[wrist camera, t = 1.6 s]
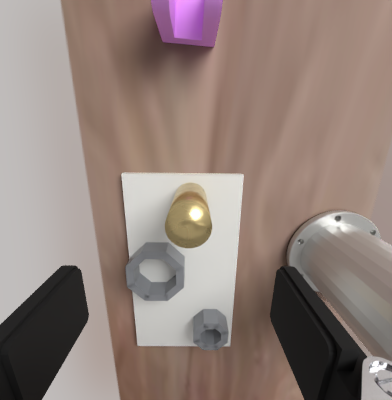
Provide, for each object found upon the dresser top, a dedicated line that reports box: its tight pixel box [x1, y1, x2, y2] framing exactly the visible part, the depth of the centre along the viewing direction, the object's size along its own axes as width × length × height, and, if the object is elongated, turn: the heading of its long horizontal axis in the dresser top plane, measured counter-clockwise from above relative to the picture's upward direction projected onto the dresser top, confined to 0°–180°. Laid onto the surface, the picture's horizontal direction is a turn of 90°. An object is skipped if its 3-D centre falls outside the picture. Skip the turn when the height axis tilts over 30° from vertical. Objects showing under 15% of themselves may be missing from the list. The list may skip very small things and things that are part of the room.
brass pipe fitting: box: [165, 182, 212, 248], centre depth 21 cm, size 4×4×9 cm
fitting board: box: [121, 172, 244, 350], centre depth 28 cm, size 15×28×4 cm, turn 179°
